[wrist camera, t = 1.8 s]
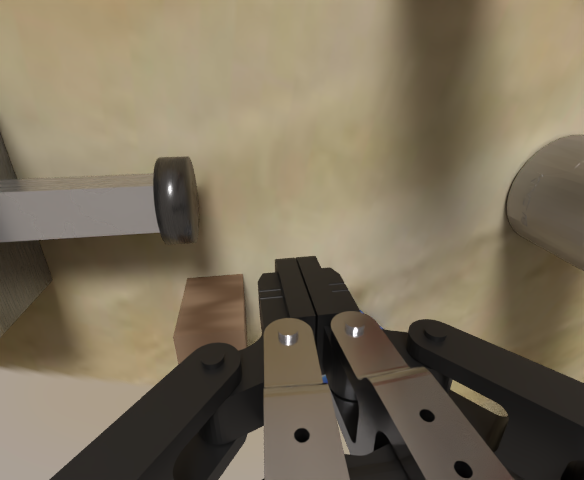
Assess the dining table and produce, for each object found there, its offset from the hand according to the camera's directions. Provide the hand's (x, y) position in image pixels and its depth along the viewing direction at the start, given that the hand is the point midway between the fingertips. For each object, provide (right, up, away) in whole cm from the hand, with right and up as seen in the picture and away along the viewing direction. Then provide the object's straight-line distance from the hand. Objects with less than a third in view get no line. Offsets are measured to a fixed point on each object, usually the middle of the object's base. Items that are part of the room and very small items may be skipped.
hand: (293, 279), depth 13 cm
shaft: (-13, +5, +9) cm, 17 cm away
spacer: (-6, -3, +16) cm, 17 cm away
